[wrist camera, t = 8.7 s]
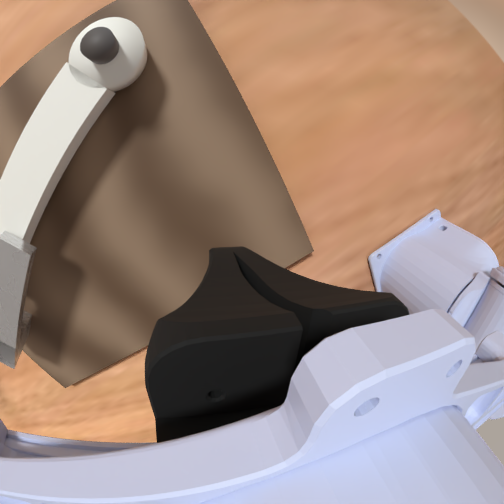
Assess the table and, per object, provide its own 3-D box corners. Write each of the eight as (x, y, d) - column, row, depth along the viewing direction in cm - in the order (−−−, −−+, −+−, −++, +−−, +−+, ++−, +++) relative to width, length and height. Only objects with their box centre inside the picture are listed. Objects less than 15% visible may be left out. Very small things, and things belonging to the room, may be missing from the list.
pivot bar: (112, 19, 12) (104, 5, 9) (161, 51, 13) (160, 40, 11) (-18, 254, 15) (-33, 270, 12) (21, 283, 16) (9, 302, 14)
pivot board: (171, -20, 12) (174, -63, 7) (308, 245, 23) (345, 282, 18) (-77, 198, 12) (-116, 223, 7) (66, 380, 22) (57, 427, 17)
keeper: (25, 213, 15) (-3, 237, 11) (53, 228, 16) (30, 255, 13) (5, 322, 17) (-12, 355, 14) (28, 334, 18) (14, 369, 15)
